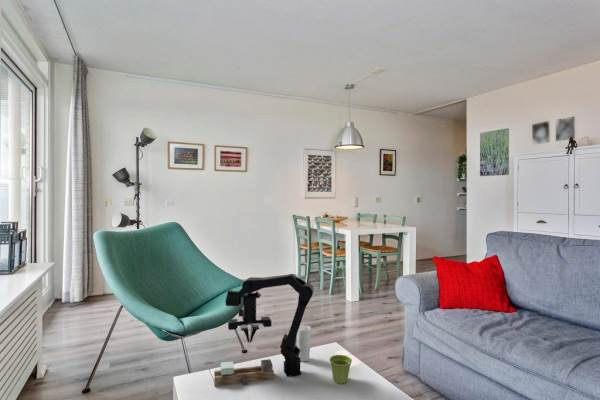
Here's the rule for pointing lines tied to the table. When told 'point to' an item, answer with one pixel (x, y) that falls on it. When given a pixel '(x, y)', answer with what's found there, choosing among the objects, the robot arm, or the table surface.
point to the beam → (246, 374)
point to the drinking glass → (304, 342)
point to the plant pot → (340, 368)
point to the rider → (227, 368)
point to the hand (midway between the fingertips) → (249, 342)
